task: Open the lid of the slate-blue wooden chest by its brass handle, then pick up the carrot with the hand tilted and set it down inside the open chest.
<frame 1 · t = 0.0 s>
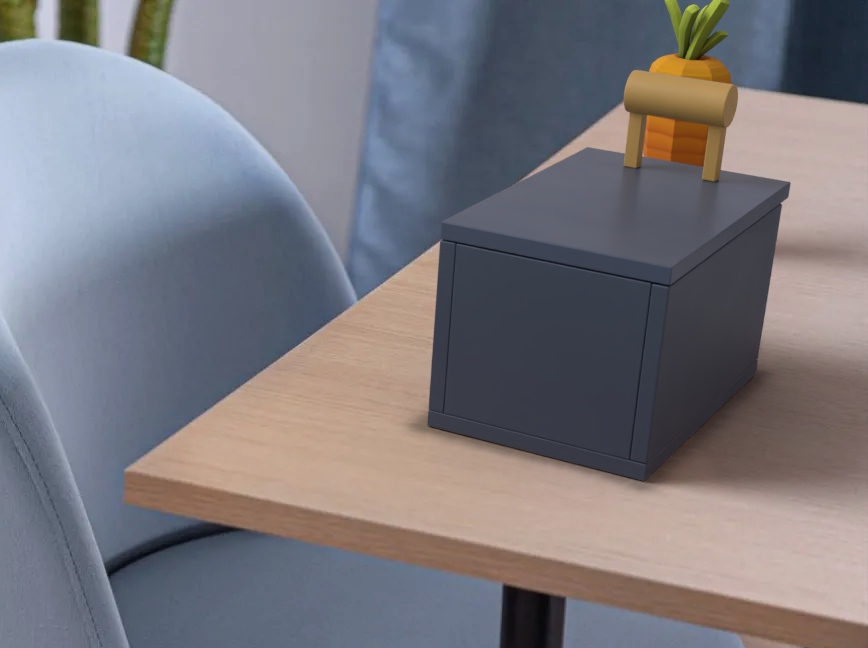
chest: (598, 399, 85), on the table
carrot: (667, 248, 108), on the table
lid: (629, 159, 80), point 12 cm above the table, hinge at 0.0°
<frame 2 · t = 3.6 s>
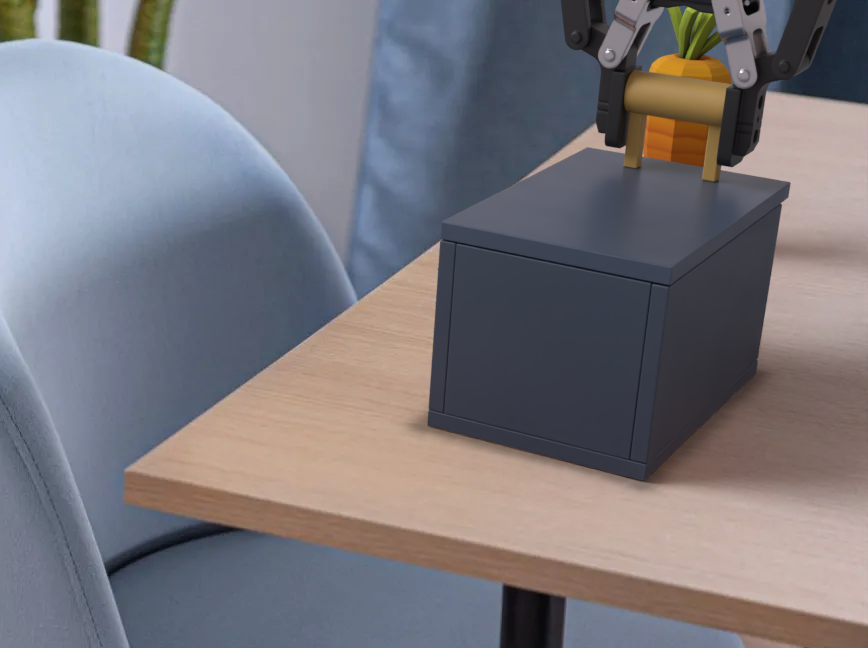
hand: (673, 152, 85), 11 cm above the table, tool pointing down, fingers closed on lid, 5 cm apart
lid: (629, 159, 80), point 12 cm above the table, hinge at 0.0°, touching gripper
everything else where it was.
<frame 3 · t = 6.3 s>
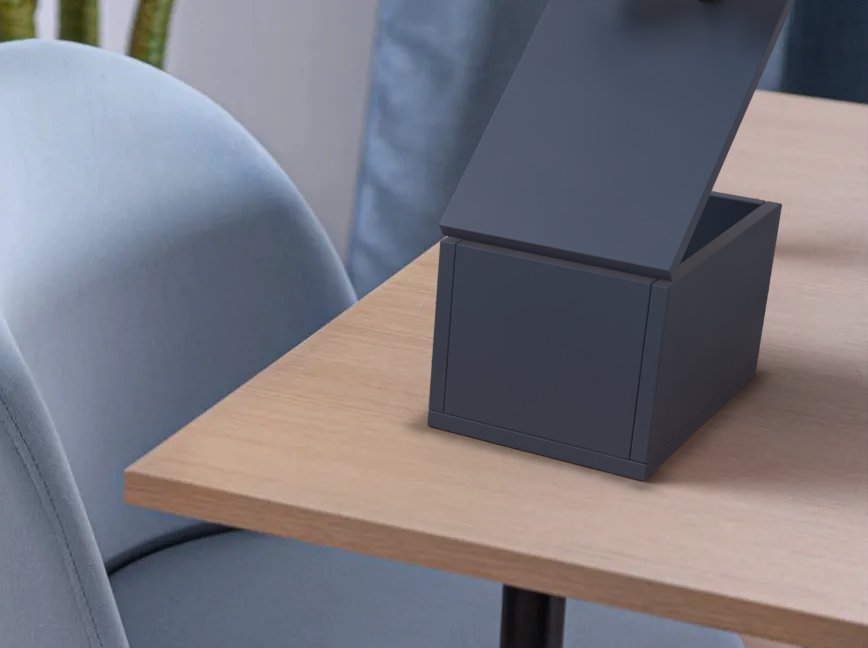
lid: (614, 66, 75), point 16 cm above the table, hinge at 39.1°, touching gripper
everything else where it was.
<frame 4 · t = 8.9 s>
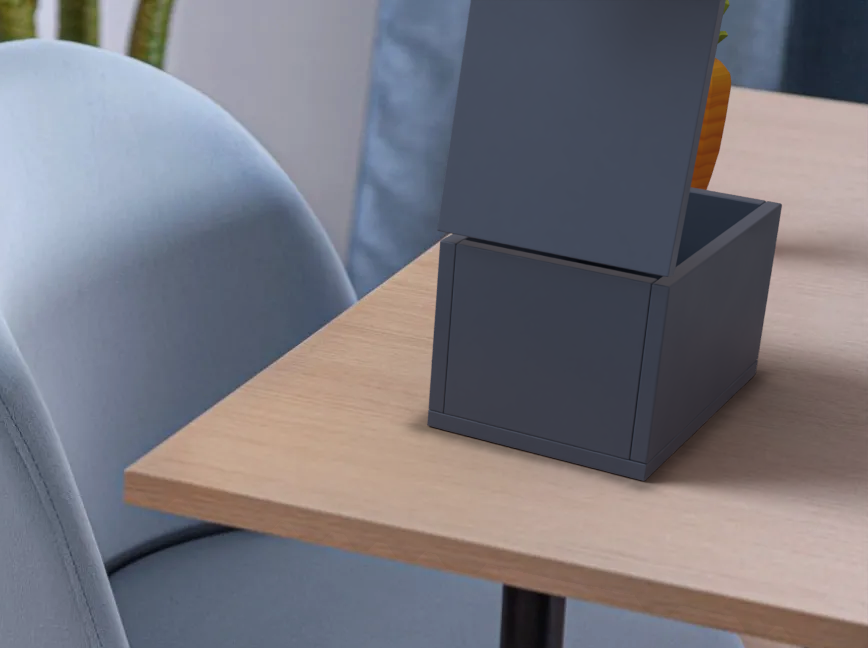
lid: (564, 50, 70), point 18 cm above the table, hinge at 79.6°, touching gripper
everything else where it was.
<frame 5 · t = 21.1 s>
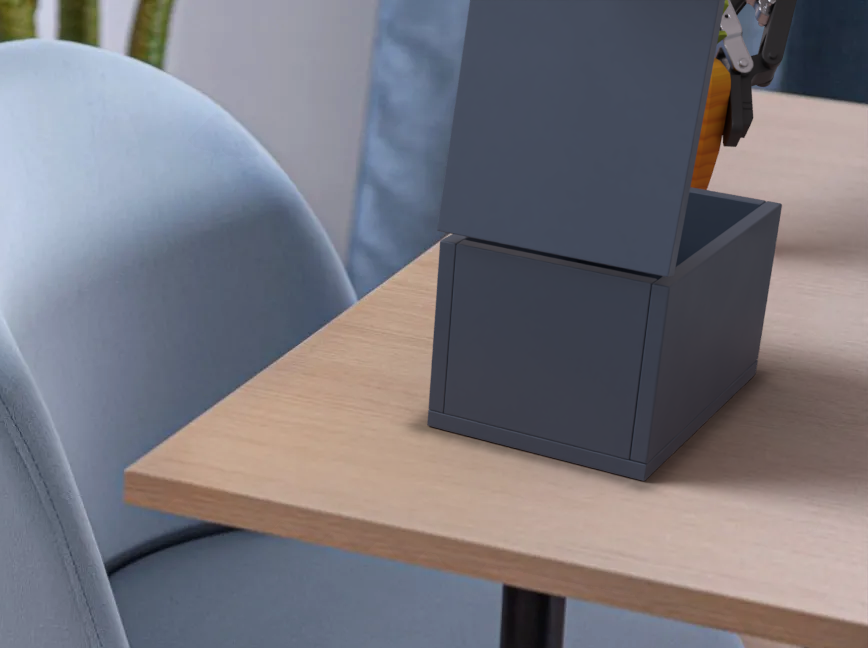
hand: (689, 136, 103), 7 cm above the table, tool tilted 45°, fingers closed on carrot, 4 cm apart
carrot: (667, 248, 108), on the table, touching gripper
lid: (564, 50, 70), point 18 cm above the table, hinge at 80.1°
when the fingers open (9 cm above the table, at t = 31.1 s): carrot drops 2 cm, resting on chest.
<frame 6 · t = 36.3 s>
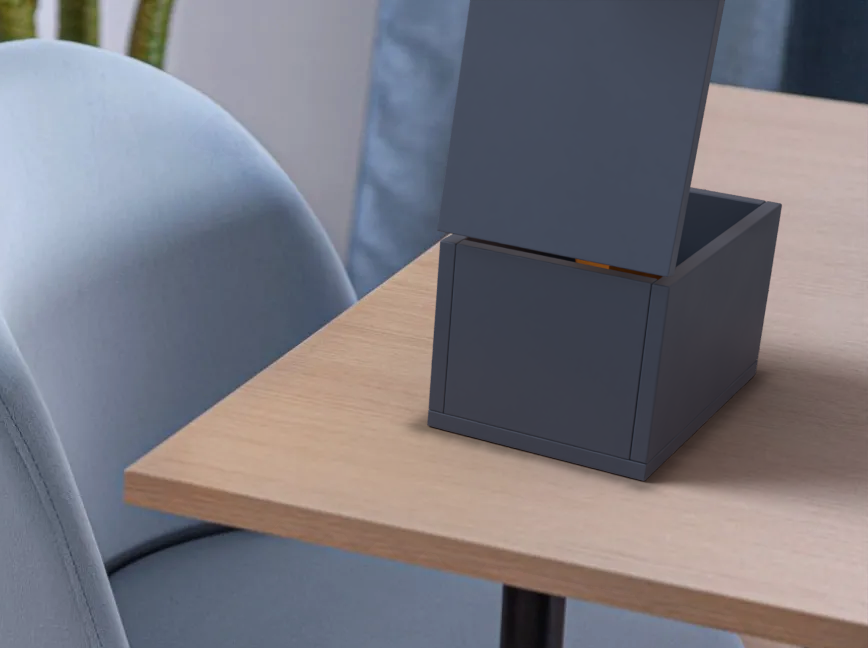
carrot: (607, 379, 85), point 1 cm above the table, touching chest
everything else where it was.
at the end: lid at +80° (first picture: +0°); carrot 1.2 cm from the chest (horizontally); carrot point 0.6 cm above the table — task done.
